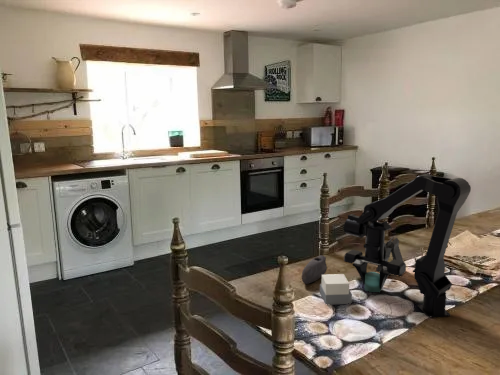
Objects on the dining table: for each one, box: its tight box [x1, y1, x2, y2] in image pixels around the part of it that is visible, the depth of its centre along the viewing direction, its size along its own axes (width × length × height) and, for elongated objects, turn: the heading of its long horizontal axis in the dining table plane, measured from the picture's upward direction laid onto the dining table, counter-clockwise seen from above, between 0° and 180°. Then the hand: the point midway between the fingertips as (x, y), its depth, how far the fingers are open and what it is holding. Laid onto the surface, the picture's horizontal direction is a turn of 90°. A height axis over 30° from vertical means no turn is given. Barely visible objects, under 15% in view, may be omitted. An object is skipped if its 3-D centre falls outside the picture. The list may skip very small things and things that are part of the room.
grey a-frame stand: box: [375, 237, 407, 277], centre depth 144 cm, size 9×6×12 cm, turn 54°
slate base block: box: [319, 283, 353, 306], centre depth 125 cm, size 8×8×4 cm
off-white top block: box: [321, 273, 350, 295], centre depth 124 cm, size 7×7×4 cm
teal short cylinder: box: [364, 271, 382, 293], centre depth 130 cm, size 5×5×5 cm
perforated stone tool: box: [301, 254, 328, 285], centre depth 138 cm, size 15×5×7 cm, turn 141°
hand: (372, 286), depth 130 cm, fingers closed on teal short cylinder, 5 cm apart
